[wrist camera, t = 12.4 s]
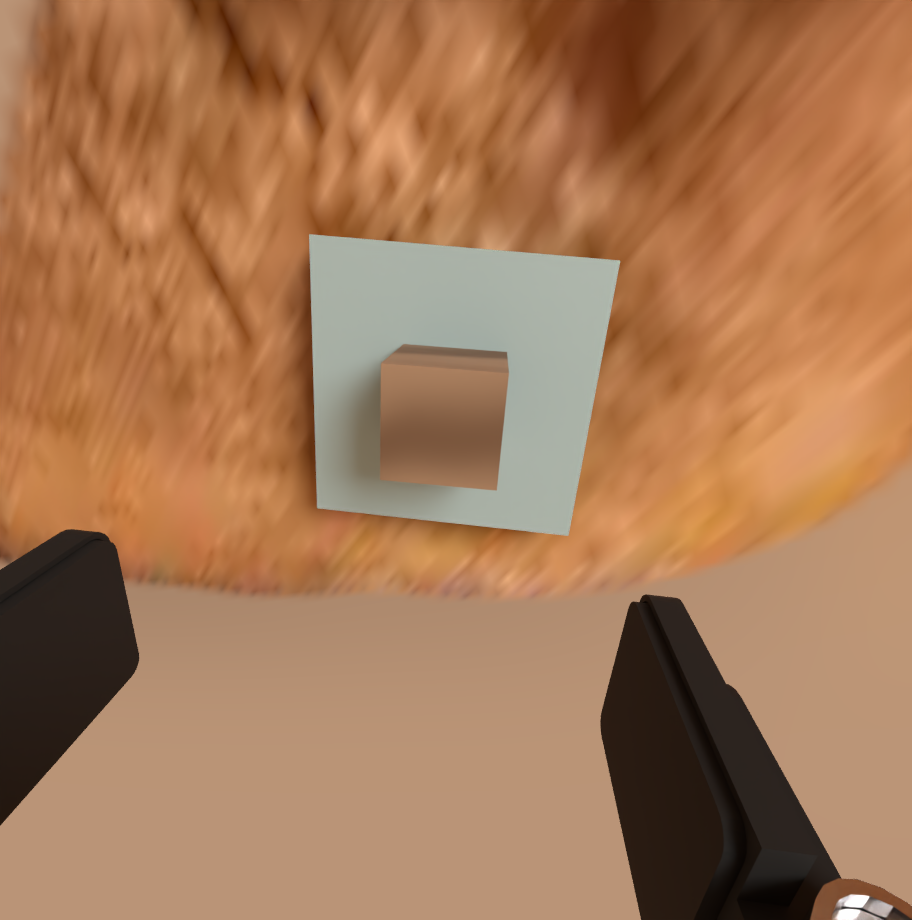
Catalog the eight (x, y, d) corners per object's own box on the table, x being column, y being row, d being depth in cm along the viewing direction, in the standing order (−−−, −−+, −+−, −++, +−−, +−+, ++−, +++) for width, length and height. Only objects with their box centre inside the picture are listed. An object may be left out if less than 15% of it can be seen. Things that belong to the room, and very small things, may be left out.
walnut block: (403, 344, 24) (380, 363, 19) (506, 352, 24) (508, 373, 19) (401, 441, 26) (380, 479, 21) (497, 449, 26) (496, 490, 21)
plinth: (330, 237, 25) (309, 234, 23) (606, 260, 25) (620, 260, 22) (333, 485, 31) (317, 508, 28) (561, 510, 30) (568, 535, 27)
